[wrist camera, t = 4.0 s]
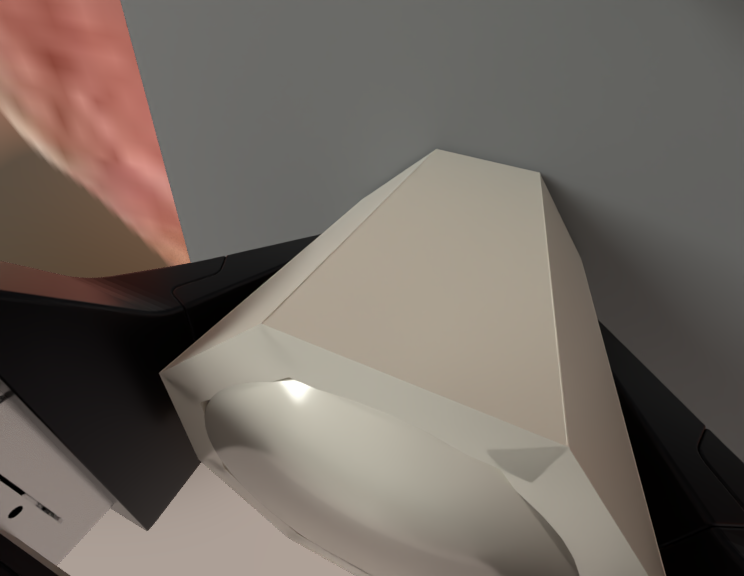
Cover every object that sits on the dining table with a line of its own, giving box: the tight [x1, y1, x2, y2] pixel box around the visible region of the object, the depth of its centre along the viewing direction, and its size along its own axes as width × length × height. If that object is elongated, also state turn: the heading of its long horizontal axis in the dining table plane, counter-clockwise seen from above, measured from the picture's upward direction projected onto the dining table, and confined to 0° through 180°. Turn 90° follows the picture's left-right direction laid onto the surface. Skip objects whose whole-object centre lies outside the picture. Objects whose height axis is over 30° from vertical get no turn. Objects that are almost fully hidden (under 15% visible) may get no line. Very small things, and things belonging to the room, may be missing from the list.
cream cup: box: [159, 149, 666, 576], centre depth 7 cm, size 6×6×7 cm
